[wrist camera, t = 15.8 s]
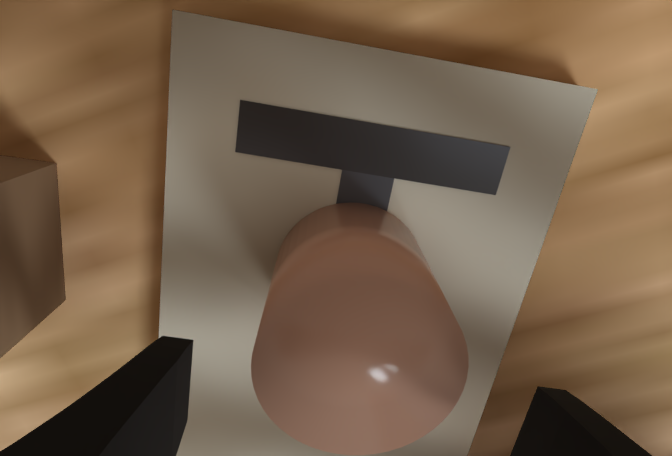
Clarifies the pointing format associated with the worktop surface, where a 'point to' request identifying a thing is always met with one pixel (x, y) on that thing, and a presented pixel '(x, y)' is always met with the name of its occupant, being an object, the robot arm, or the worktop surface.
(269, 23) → the worktop surface
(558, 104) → the letter board
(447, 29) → the worktop surface
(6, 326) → the walnut block
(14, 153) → the worktop surface
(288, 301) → the terracotta cylinder
